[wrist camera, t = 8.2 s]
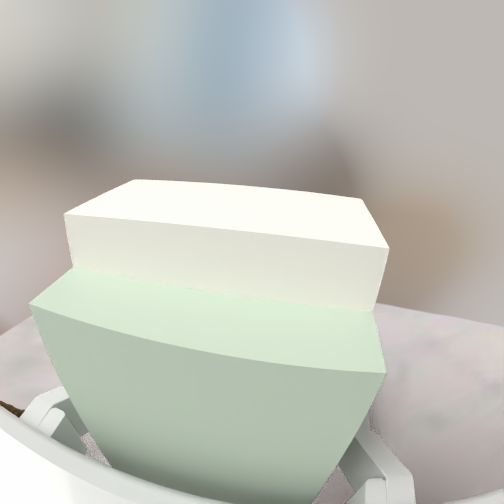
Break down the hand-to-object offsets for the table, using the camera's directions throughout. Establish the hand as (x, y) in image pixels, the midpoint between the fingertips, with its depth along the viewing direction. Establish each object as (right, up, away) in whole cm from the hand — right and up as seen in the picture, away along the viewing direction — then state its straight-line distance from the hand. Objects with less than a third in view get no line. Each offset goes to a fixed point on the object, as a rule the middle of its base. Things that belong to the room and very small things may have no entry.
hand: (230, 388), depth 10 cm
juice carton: (0, -6, +2) cm, 7 cm away
